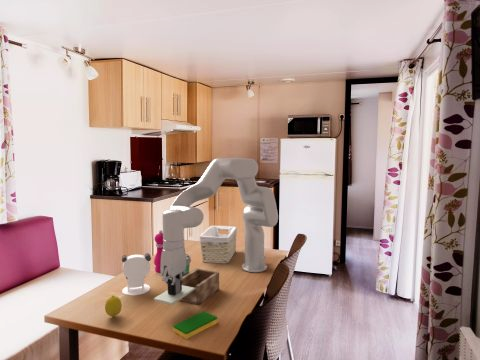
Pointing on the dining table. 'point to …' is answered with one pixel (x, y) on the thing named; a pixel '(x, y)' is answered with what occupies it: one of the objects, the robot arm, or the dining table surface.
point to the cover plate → (174, 298)
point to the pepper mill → (158, 251)
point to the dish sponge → (194, 324)
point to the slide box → (200, 285)
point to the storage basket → (218, 244)
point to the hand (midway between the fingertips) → (174, 292)
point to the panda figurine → (136, 273)
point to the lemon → (113, 306)
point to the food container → (187, 264)
